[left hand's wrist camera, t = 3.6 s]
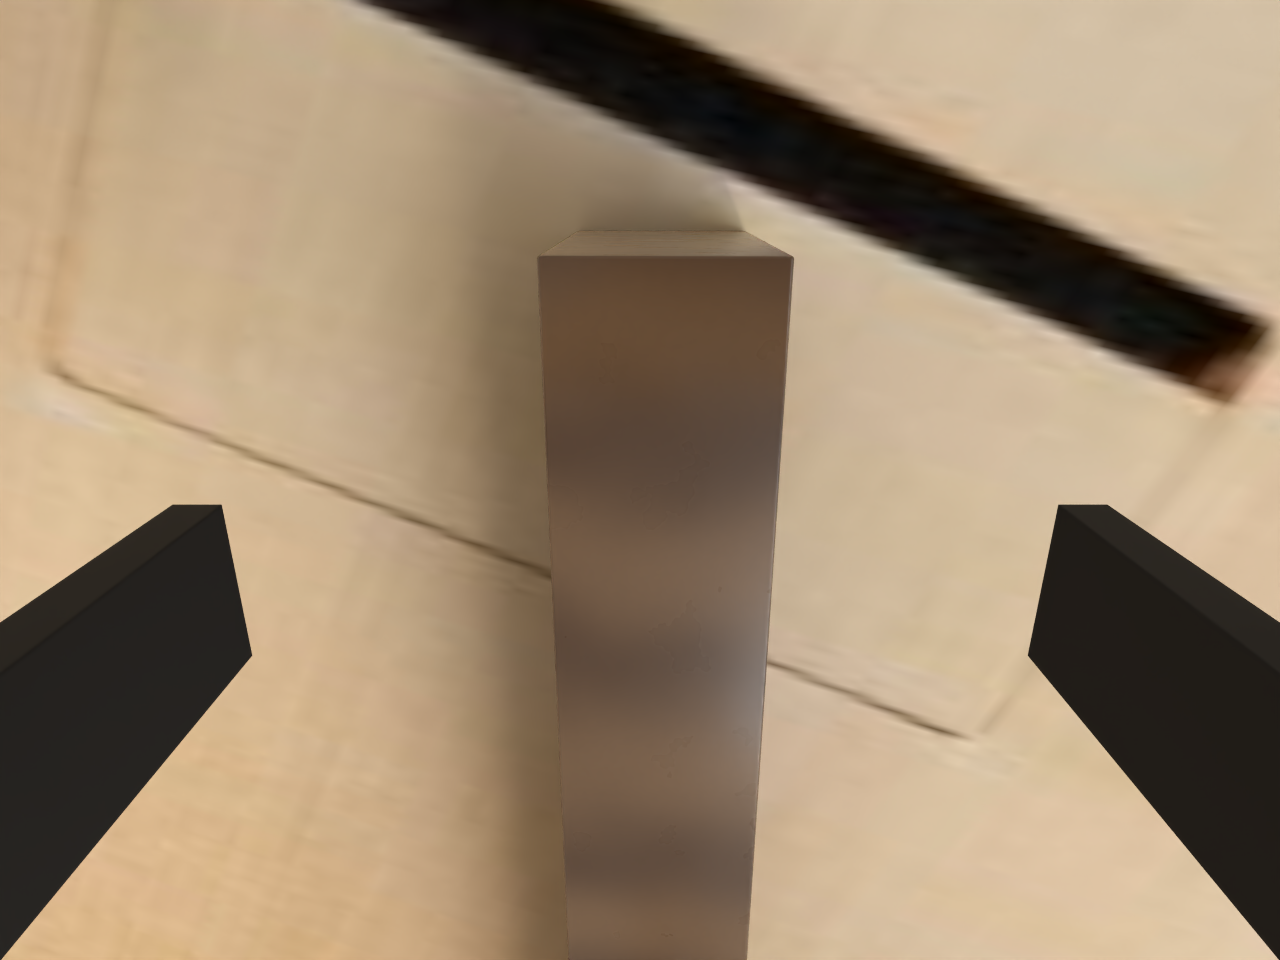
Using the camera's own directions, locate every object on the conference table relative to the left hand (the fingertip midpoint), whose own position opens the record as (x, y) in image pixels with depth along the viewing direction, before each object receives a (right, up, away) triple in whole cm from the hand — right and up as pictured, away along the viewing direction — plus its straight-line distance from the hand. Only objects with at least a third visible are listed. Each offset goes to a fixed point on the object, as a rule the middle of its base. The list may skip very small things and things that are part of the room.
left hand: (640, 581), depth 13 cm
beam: (+1, -25, +22) cm, 34 cm away
